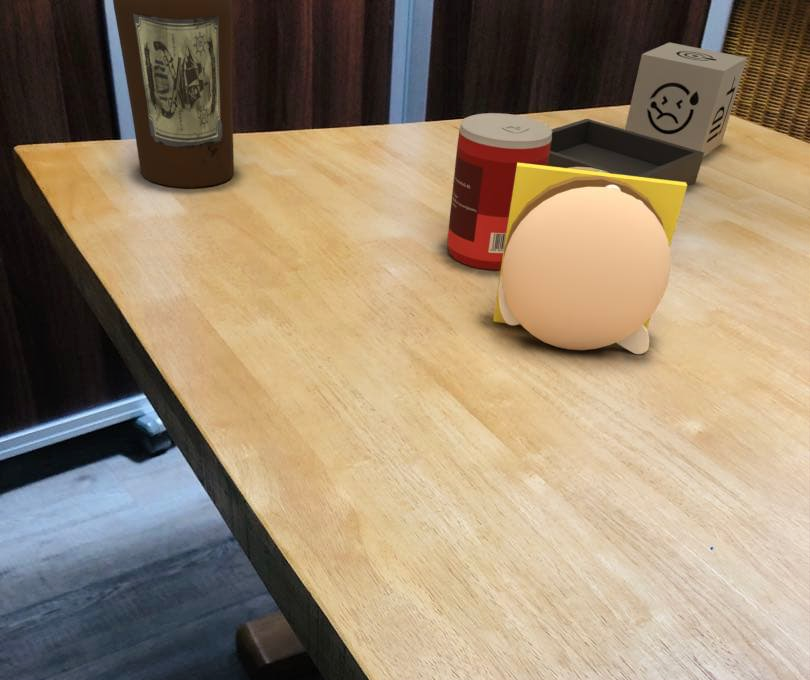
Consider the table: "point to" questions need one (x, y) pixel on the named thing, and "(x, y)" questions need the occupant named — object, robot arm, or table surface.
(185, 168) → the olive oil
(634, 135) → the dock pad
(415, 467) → the table surface
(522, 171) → the hamburger
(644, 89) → the icon cube
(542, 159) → the canned food
